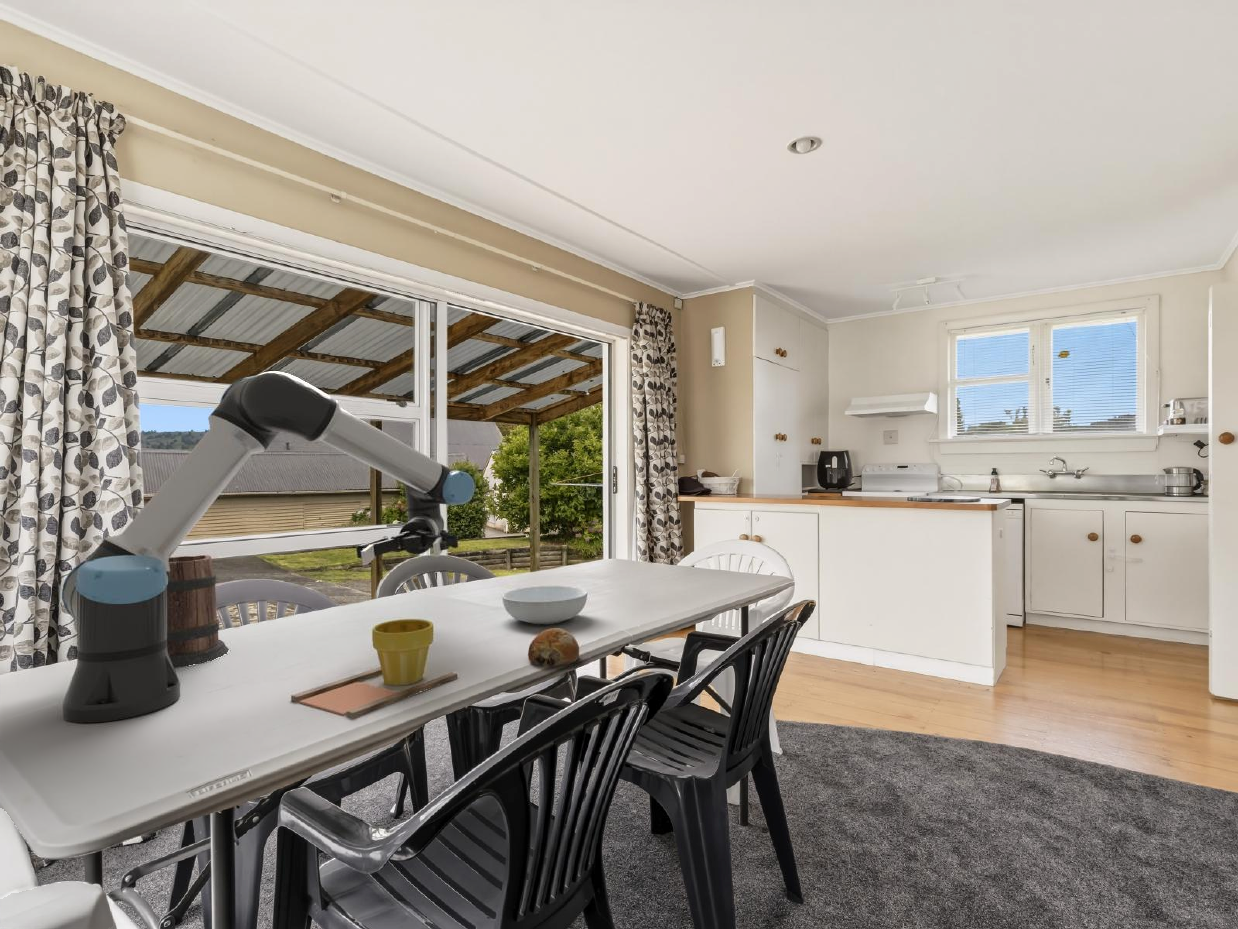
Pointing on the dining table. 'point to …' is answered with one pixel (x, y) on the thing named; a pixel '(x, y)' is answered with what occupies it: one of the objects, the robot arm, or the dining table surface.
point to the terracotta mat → (347, 697)
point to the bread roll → (553, 648)
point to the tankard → (192, 612)
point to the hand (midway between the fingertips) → (399, 554)
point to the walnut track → (376, 703)
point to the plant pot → (402, 649)
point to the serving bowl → (544, 603)
